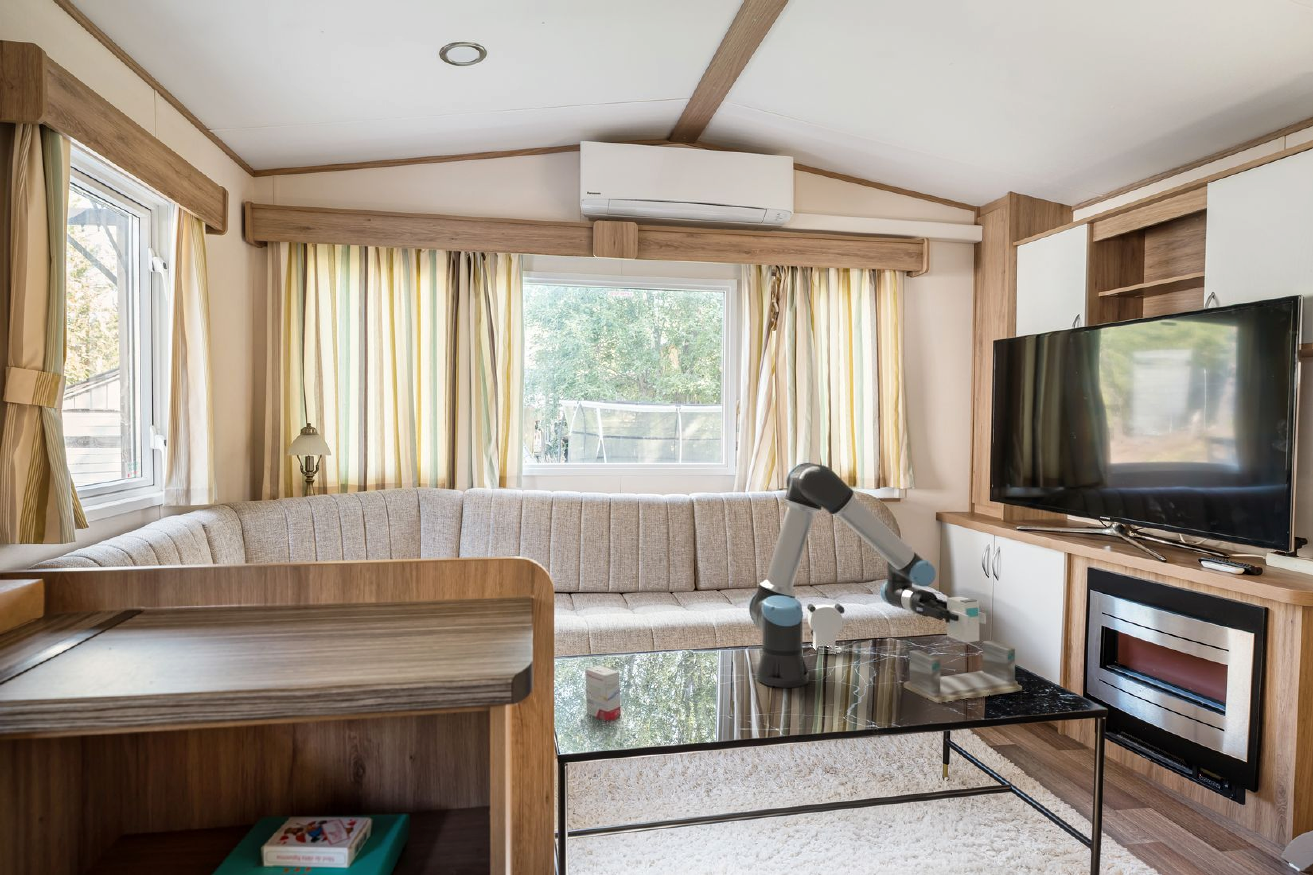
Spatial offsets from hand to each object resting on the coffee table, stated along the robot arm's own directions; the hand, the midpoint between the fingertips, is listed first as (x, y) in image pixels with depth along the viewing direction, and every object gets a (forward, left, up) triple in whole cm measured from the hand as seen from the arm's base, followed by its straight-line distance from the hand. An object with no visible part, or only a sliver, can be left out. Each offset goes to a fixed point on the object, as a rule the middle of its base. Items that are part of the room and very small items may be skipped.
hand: (976, 619), depth 209 cm
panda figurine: (-16, +51, -21) cm, 58 cm away
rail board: (0, +5, -21) cm, 21 cm away
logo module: (0, +5, -7) cm, 8 cm away
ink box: (-101, +22, -21) cm, 105 cm away
